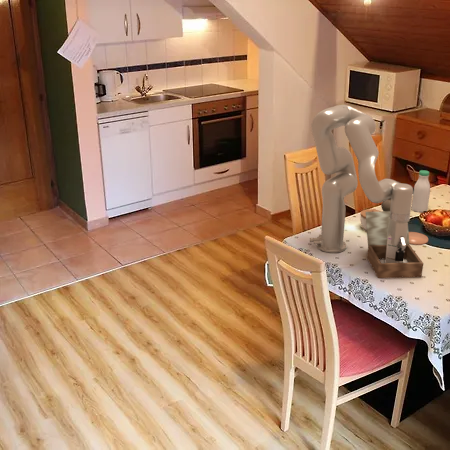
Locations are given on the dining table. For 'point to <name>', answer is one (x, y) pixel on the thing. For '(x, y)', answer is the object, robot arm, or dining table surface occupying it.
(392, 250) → the syrup box
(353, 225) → the dining table surface
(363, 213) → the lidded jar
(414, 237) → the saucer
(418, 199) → the milk bottle
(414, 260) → the cold frame
